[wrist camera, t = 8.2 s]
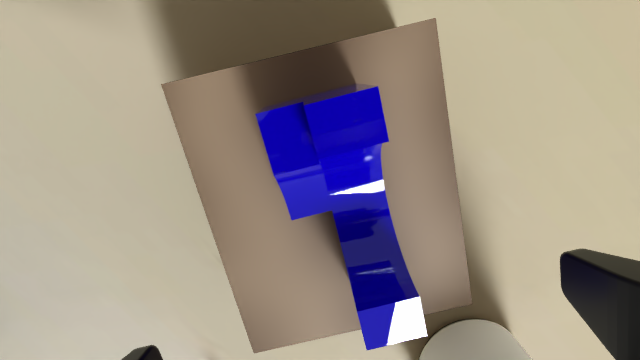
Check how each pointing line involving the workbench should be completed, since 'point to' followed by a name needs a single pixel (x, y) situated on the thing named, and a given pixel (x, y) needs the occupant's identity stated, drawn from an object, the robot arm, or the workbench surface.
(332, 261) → the plate
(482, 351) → the can
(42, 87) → the workbench surface
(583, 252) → the robot arm
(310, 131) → the cable holder
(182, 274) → the workbench surface
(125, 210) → the workbench surface
